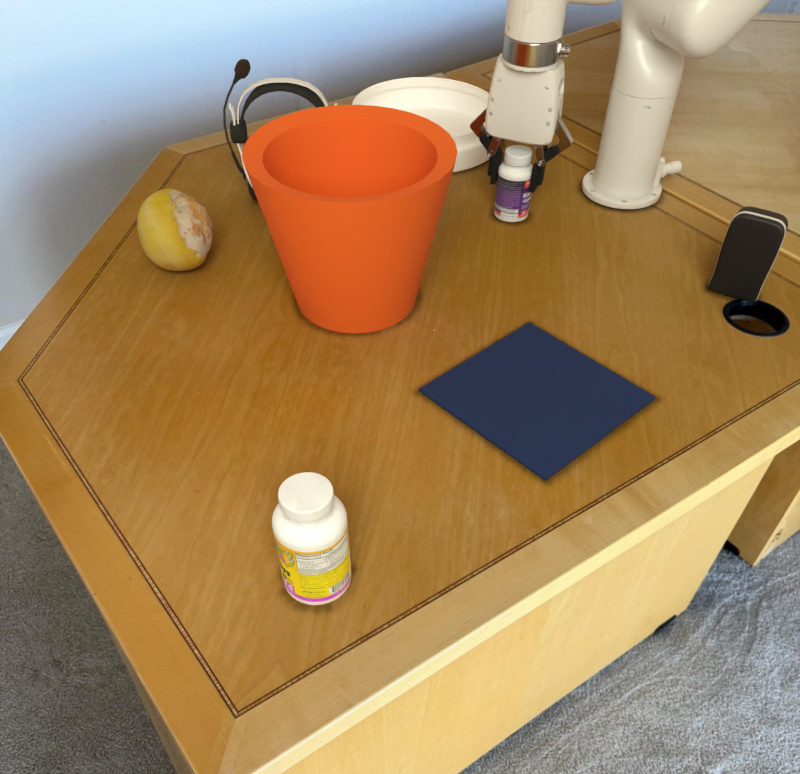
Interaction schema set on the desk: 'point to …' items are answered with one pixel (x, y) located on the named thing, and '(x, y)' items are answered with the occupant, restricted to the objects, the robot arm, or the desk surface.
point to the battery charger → (748, 253)
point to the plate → (437, 109)
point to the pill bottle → (514, 184)
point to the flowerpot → (352, 207)
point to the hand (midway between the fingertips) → (514, 183)
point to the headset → (262, 87)
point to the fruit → (174, 230)
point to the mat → (537, 399)
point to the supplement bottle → (312, 539)
